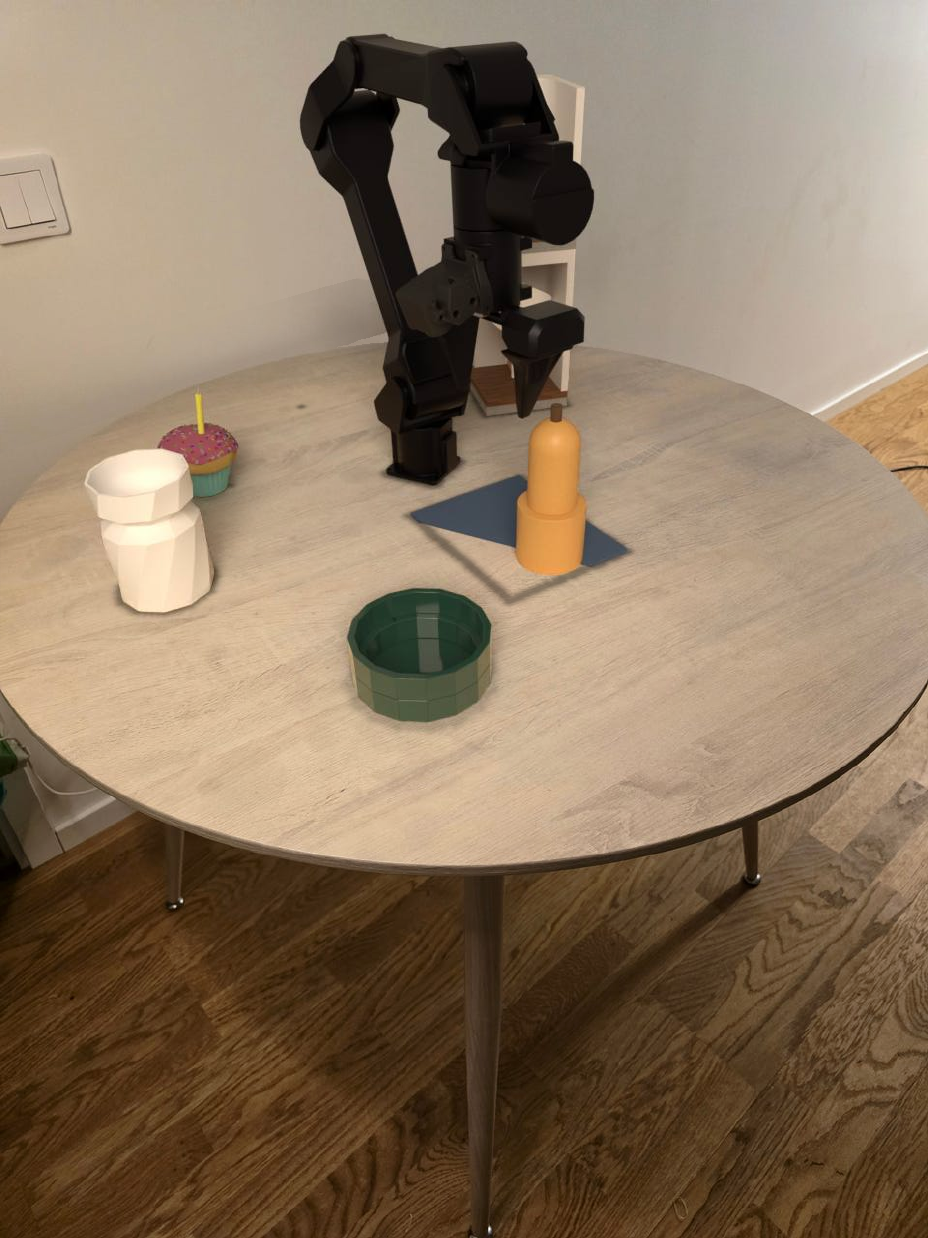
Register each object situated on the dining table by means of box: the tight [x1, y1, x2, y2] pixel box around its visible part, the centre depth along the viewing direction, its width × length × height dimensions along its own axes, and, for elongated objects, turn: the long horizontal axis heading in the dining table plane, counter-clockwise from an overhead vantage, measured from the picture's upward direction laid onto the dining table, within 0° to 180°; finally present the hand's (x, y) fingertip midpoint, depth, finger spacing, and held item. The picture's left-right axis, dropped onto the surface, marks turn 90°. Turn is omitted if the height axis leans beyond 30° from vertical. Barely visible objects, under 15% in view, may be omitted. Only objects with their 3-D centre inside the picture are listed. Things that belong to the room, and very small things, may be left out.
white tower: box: [470, 73, 586, 417], centre depth 103 cm, size 11×11×35 cm
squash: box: [515, 403, 588, 576], centre depth 79 cm, size 6×6×16 cm
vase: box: [83, 448, 215, 613], centre depth 78 cm, size 9×9×12 cm
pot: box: [346, 587, 493, 723], centre depth 69 cm, size 11×11×5 cm
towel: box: [410, 474, 628, 568], centre depth 87 cm, size 18×14×1 cm
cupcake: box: [156, 386, 239, 498], centre depth 92 cm, size 9×8×12 cm
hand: (492, 402), depth 81 cm, fingers open, 9 cm apart
